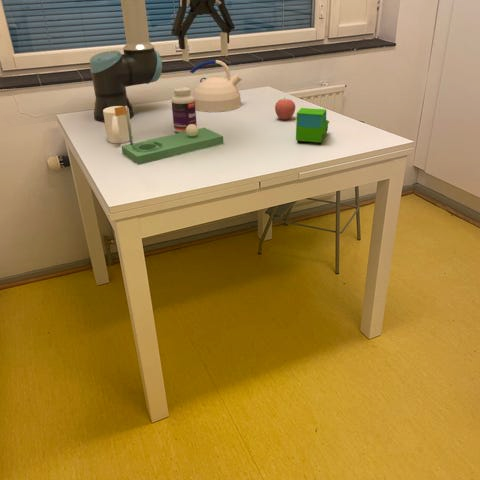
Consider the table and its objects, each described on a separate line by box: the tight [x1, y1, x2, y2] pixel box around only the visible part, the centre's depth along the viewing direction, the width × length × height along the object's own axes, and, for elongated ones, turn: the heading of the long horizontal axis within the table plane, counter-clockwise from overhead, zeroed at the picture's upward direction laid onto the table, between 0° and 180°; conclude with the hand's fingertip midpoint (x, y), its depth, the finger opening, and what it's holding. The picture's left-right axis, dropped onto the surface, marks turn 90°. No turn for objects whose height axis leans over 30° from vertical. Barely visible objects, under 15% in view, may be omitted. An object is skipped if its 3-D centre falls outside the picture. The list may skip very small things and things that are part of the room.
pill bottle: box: [170, 86, 198, 133], centre depth 164 cm, size 8×8×14 cm
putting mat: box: [121, 127, 224, 165], centre depth 152 cm, size 12×30×2 cm, turn 125°
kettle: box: [189, 59, 243, 113], centre depth 192 cm, size 20×21×18 cm
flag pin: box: [114, 106, 134, 145], centre depth 145 cm, size 1×4×12 cm, turn 125°
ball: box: [186, 124, 199, 137], centre depth 153 cm, size 4×4×4 cm
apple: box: [274, 97, 296, 121], centre depth 175 cm, size 7×7×8 cm
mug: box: [103, 106, 134, 144], centre depth 157 cm, size 8×10×12 cm
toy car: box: [295, 107, 330, 145], centre depth 155 cm, size 10×13×10 cm
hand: (205, 58), depth 144 cm, fingers open, 13 cm apart
